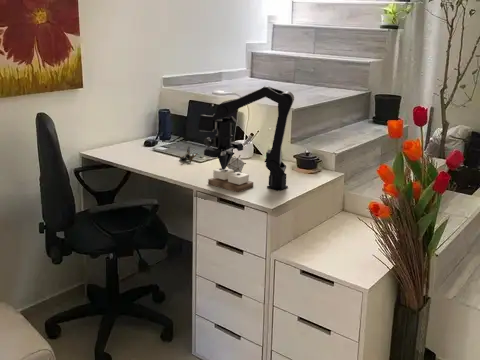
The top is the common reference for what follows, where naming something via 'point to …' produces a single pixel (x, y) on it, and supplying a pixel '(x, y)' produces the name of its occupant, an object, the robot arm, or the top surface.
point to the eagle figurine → (188, 155)
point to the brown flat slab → (229, 184)
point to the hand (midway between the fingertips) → (223, 169)
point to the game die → (236, 164)
